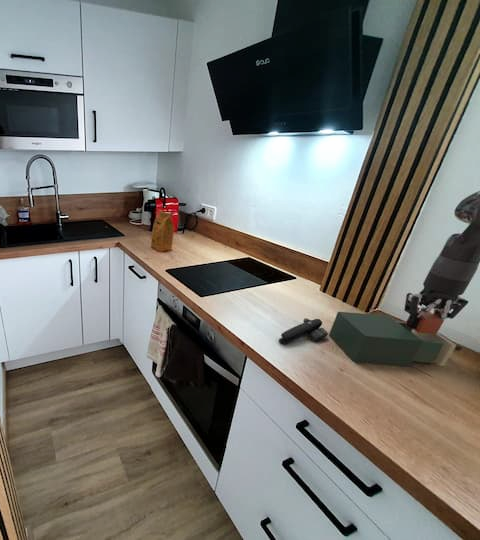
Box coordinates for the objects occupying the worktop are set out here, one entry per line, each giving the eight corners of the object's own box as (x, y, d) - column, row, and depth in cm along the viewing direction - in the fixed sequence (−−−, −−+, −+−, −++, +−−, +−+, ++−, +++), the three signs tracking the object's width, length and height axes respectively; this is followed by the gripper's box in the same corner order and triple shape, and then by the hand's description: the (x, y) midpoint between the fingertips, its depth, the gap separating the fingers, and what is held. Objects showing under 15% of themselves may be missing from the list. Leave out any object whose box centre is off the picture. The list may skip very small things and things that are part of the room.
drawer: (426, 342, 89) (437, 322, 86) (462, 368, 79) (476, 346, 76) (364, 337, 91) (373, 317, 88) (391, 361, 80) (402, 340, 77)
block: (422, 324, 83) (429, 311, 81) (436, 334, 79) (444, 320, 77) (405, 323, 84) (412, 310, 82) (418, 332, 79) (426, 318, 78)
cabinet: (376, 339, 91) (388, 315, 88) (408, 367, 80) (423, 340, 76) (328, 335, 92) (337, 311, 89) (353, 362, 81) (365, 336, 77)
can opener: (309, 327, 96) (314, 313, 94) (329, 339, 90) (335, 324, 88) (269, 337, 90) (274, 322, 88) (288, 351, 85) (293, 335, 82)
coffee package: (162, 244, 174) (165, 208, 165) (173, 251, 163) (178, 212, 155) (148, 246, 170) (150, 209, 161) (159, 253, 160) (162, 214, 151)
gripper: (433, 277, 72) (404, 333, 78) (496, 281, 70) (461, 338, 77) (409, 266, 78) (384, 318, 85) (465, 270, 77) (435, 322, 84)
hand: (420, 327), depth 81 cm, fingers closed on block, 4 cm apart
